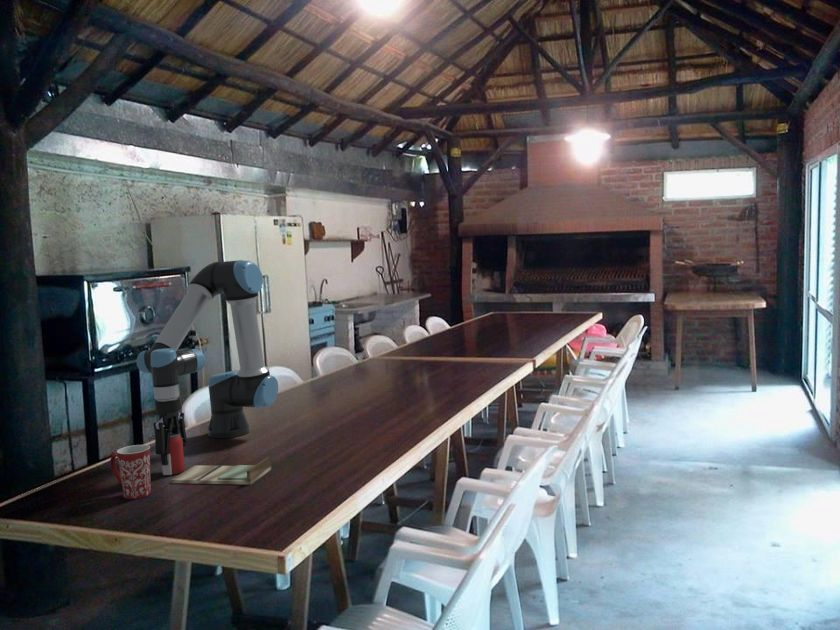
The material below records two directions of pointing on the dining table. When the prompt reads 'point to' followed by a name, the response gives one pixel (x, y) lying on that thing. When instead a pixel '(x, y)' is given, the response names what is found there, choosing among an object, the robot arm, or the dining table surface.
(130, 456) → the mug
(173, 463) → the beer can
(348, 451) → the dining table surface
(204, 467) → the beige green bent panel
